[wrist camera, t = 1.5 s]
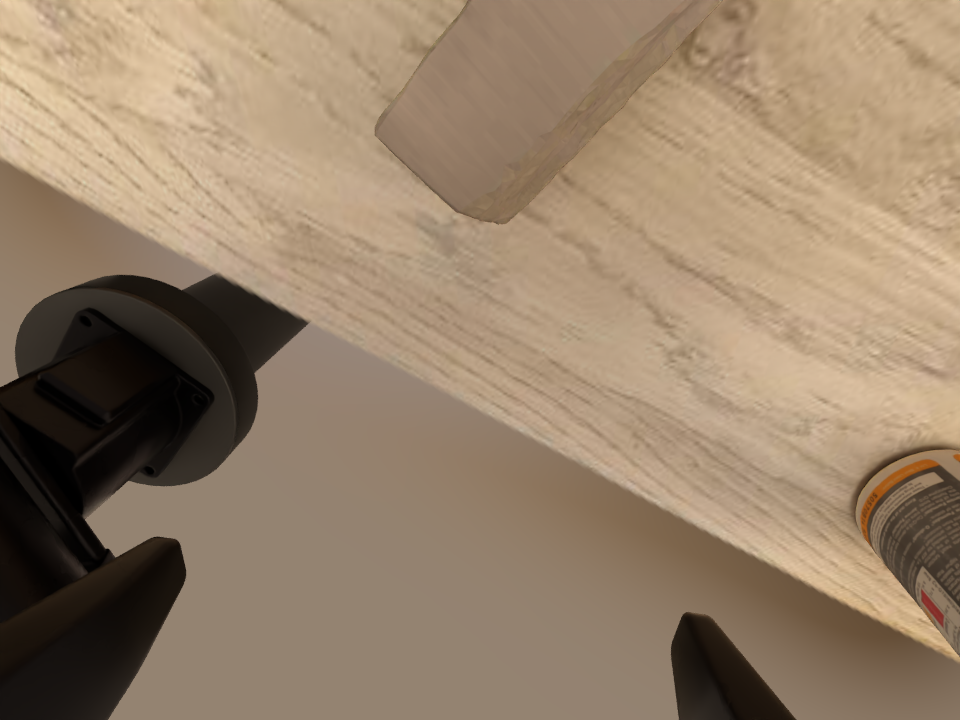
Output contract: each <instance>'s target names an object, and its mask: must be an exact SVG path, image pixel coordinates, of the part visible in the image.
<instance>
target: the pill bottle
mask: <svg viewBox="0 0 960 720" xmlns="http://www.w3.org/2000/svg"><path fill="white" fill-rule="evenodd" d="M855 514H856V522H857V525H858V528H859V530H860V532H861V534H862V535H863V537H864V538H865V540H866V541H867V542H868V543H869V545H870V546H871V547H872V549H873V550H874V551H875V553H876V554H877V555H878V557H879V558H880V559H881V560H882V562H883V563H884V564H885V565H886V566H887V567H888V569H889V570H890V571H891V572H892V573H893V575H894V576H895V577H896V578H897V580H898V581H899V582H900V583H901V585H902V586H903V587H904V588H905V589H906V591H907V592H908V593H909V594H910V595H911V597H912V598H913V599H914V600H915V602H916V603H917V604H918V605H919V607H920V608H921V609H922V610H923V611H924V613H925V614H926V615H927V617H928V618H929V619H930V620H931V622H932V623H933V624H934V625H935V626H936V628H937V629H938V630H939V631H940V633H941V634H942V635H943V636H944V638H945V639H946V640H947V641H948V643H949V644H950V645H951V646H952V648H953V649H954V650H955V652H956V653H957V654H958V655H959V656H960V451H956V450H932V451H926V452H920V453H917V454H913V455H910V456H907V457H904V458H902V459H900V460H898V461H896V462H894V463H892V464H890V465H888V466H887V467H885V468H884V469H882V470H881V471H879V472H878V473H877V474H876V475H875V476H874V477H873V478H872V479H871V480H870V481H869V482H868V483H867V485H866V486H865V487H864V488H863V490H862V492H861V494H860V496H859V498H858V501H857V506H856V513H855Z"/></svg>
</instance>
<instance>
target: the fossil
mask: <svg viewBox="0 0 960 720" xmlns="http://www.w3.org/2000/svg"><path fill="white" fill-rule="evenodd" d="M722 1H723V0H468V2H467V4H466V5H465V7H464V8H463V10H462V11H461V13H460V14H459V15H458V16H457V18H456V19H455V20H454V21H453V22H452V23H451V24H450V26H449V27H448V28H447V29H446V30H445V31H444V32H443V34H442V35H441V36H440V37H439V38H438V39H437V41H436V42H435V43H434V44H433V45H432V46H431V48H430V49H429V50H428V52H427V54H426V55H425V57H424V58H423V60H422V61H421V63H420V65H419V66H418V68H417V69H416V71H415V72H414V74H413V75H412V76H411V78H410V79H409V81H408V82H407V84H406V85H405V87H404V88H403V89H402V91H401V92H400V93H399V94H398V95H397V97H396V98H395V99H394V100H393V101H392V102H391V103H390V105H389V106H388V107H387V108H386V109H385V110H384V112H383V113H382V115H381V116H380V117H379V119H378V121H377V124H376V126H375V136H376V137H377V138H378V139H379V140H380V141H381V142H382V143H383V144H384V145H385V146H386V147H387V148H388V149H389V150H390V151H391V152H392V153H393V154H394V155H395V156H396V157H398V158H399V159H400V160H401V161H402V162H403V163H404V164H405V165H406V166H407V167H408V168H409V169H410V170H411V171H412V172H413V173H414V174H415V175H416V176H417V177H419V178H420V179H421V180H422V181H423V182H424V183H425V184H426V185H427V186H428V187H429V188H430V189H431V190H432V191H433V192H434V193H436V194H437V195H438V196H439V197H440V198H441V199H442V200H443V201H444V202H445V203H447V204H448V205H449V206H450V207H451V208H452V209H453V210H454V211H455V212H457V213H461V214H464V215H467V216H470V217H472V218H475V219H479V220H480V221H485V222H494V223H496V224H506V223H507V222H508V221H510V220H511V219H512V218H513V217H514V216H515V215H516V214H517V213H518V212H519V211H521V210H522V209H523V208H524V207H525V206H526V205H527V204H529V203H530V202H531V201H532V200H533V199H534V198H535V196H536V195H537V194H538V193H539V192H540V191H541V190H542V189H543V188H544V187H545V186H546V185H547V184H548V183H549V182H550V181H551V180H552V179H553V178H554V176H555V175H556V173H557V172H558V170H560V169H561V168H562V167H563V166H564V165H566V164H567V163H568V162H569V161H570V160H572V159H573V157H574V156H575V155H576V154H577V153H578V152H579V151H580V150H581V149H582V148H583V147H584V146H585V145H586V144H587V143H588V142H589V140H590V139H591V138H592V137H593V136H594V134H595V133H596V132H597V131H598V129H599V128H601V127H602V126H603V125H604V124H605V123H606V122H607V121H608V120H609V119H611V118H612V117H613V116H614V115H615V114H616V113H617V112H618V111H619V110H620V109H622V107H623V106H624V105H625V103H626V102H627V101H628V99H629V98H630V97H631V95H632V94H633V93H634V92H635V91H636V90H637V89H638V88H639V87H640V86H641V85H642V84H643V83H644V82H645V81H646V80H647V79H648V78H649V77H650V76H651V75H652V74H654V73H655V72H656V71H657V70H658V69H659V68H660V67H661V66H662V65H663V64H664V63H665V62H666V61H667V60H668V58H669V57H670V56H671V55H672V54H673V53H674V52H675V51H676V50H677V48H678V47H679V46H680V45H681V44H682V42H683V41H684V40H685V39H686V37H687V36H688V35H689V34H690V33H691V32H692V31H693V30H694V29H695V28H696V27H697V26H698V25H699V24H700V23H701V22H702V21H703V20H704V19H705V18H706V17H707V16H708V15H709V14H710V13H711V12H712V11H713V10H714V9H715V8H716V7H717V6H718V5H719V4H720V3H721V2H722Z"/></svg>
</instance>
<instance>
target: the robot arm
mask: <svg viewBox="0 0 960 720" xmlns="http://www.w3.org/2000/svg"><path fill="white" fill-rule="evenodd" d="M88 318H89V319H90V320H91V321H92V322H90V321H89V319H88ZM199 396H201V397H202V398H203V399H204V400H202V399H201V398H200V397H199ZM214 400H215V397H214V394H213V392H212V391H211V390H210V389H209V388H207V387H206V386H204V385H203V384H202V383H200V382H199V381H197V380H196V379H194V378H193V377H192V376H190V375H189V374H187V373H186V372H185V371H183V370H182V369H180V368H179V367H177V366H176V365H175V364H173V363H172V362H170V361H169V360H168V359H166V358H165V357H163V356H162V355H160V354H159V353H158V352H156V351H155V350H153V349H152V348H150V347H149V346H148V345H146V344H145V343H143V342H142V341H141V340H139V339H138V338H136V337H135V336H133V335H132V334H131V333H129V332H128V331H126V330H125V329H124V328H122V327H121V326H119V325H118V324H116V323H115V322H114V321H112V320H111V319H109V318H108V317H107V316H105V315H104V314H102V313H101V312H99V311H98V310H96V309H94V308H90V307H88V308H85V309H82V310H80V311H78V312H77V313H76V314H75V316H74V318H73V320H72V322H71V324H70V326H69V328H68V329H67V331H66V333H65V335H64V337H63V339H62V341H61V343H60V345H59V347H58V349H57V351H56V353H55V355H54V357H53V359H52V361H51V362H49V363H47V364H45V365H43V366H41V367H39V368H37V369H35V370H33V371H31V372H29V373H28V374H26V375H24V376H22V377H20V378H18V379H16V380H14V381H12V382H10V383H8V384H6V385H4V386H2V387H0V720H108V719H109V717H110V716H111V714H112V712H113V711H114V709H115V708H116V706H117V705H118V703H119V701H120V700H121V698H122V697H123V695H124V694H125V692H126V691H127V689H128V687H129V686H130V684H131V682H132V681H133V679H134V678H135V676H136V674H137V673H138V671H139V669H140V667H141V666H142V664H143V662H144V660H145V658H146V657H147V654H148V653H149V651H150V649H151V647H152V645H153V643H154V641H155V639H156V637H157V635H158V633H159V631H160V629H161V627H162V625H163V624H164V621H165V620H166V618H167V616H168V614H169V612H170V610H171V608H172V606H173V604H174V602H175V600H176V598H177V596H178V595H179V593H180V591H181V588H182V587H183V585H184V582H185V578H186V568H185V563H184V559H183V554H182V550H181V546H180V543H179V542H178V541H177V540H176V539H171V538H164V537H153V538H150V539H148V540H146V541H145V542H143V543H141V544H140V545H138V546H136V547H134V548H132V549H131V550H129V551H127V552H125V553H123V554H122V555H120V556H118V557H116V558H115V557H114V555H113V554H112V552H111V551H110V550H109V549H105V548H104V546H103V545H102V543H101V542H100V540H99V539H98V538H97V536H96V535H95V534H94V532H93V531H92V529H91V528H90V526H89V525H88V524H87V522H86V521H85V519H86V518H87V517H88V516H89V515H91V514H92V513H93V512H94V511H95V510H96V509H97V508H98V507H100V506H101V505H102V504H103V503H104V502H105V501H106V500H107V499H108V498H109V497H111V496H112V495H113V494H114V493H115V492H116V491H117V490H119V489H120V488H121V487H122V486H123V485H124V484H125V483H126V482H127V481H129V480H130V479H131V478H132V477H133V476H134V475H135V474H136V473H137V472H139V473H141V474H142V475H144V476H146V477H148V478H152V479H153V478H157V477H158V476H159V475H160V474H161V473H162V472H163V471H164V470H165V469H166V467H167V466H168V464H169V463H170V462H171V460H172V459H173V458H174V456H175V455H176V453H177V452H178V451H179V449H180V448H181V447H182V445H183V444H184V442H185V441H186V440H187V438H188V437H189V436H190V434H191V433H192V431H193V430H194V429H195V427H196V426H197V425H198V423H199V422H200V420H201V419H202V418H203V416H204V415H205V413H206V412H207V411H208V409H209V408H210V407H211V405H212V404H213V402H214ZM671 660H672V667H673V675H674V683H675V691H676V699H677V707H678V715H679V720H796V719H795V718H794V716H793V715H792V714H791V713H790V712H789V710H788V709H787V708H786V707H785V706H784V704H783V703H782V702H781V701H780V700H779V698H778V697H777V696H776V695H775V694H774V692H773V691H772V690H771V689H770V688H769V686H768V685H767V684H766V683H765V682H764V680H763V679H762V678H761V677H760V675H759V674H758V673H757V672H756V671H755V669H754V668H753V667H752V666H751V665H750V663H749V662H748V661H747V660H746V658H745V657H744V656H743V655H742V654H741V652H740V651H739V650H738V649H737V648H736V647H735V645H734V644H733V643H732V642H731V640H730V639H729V638H728V637H727V636H726V634H725V633H724V632H723V631H722V630H721V628H720V627H719V626H718V625H717V623H715V621H714V620H713V619H712V618H711V617H709V616H708V615H705V614H698V613H691V612H686V613H685V614H683V616H682V617H681V620H680V623H679V625H678V628H677V631H676V633H675V636H674V639H673V641H672V646H671Z"/></svg>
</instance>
